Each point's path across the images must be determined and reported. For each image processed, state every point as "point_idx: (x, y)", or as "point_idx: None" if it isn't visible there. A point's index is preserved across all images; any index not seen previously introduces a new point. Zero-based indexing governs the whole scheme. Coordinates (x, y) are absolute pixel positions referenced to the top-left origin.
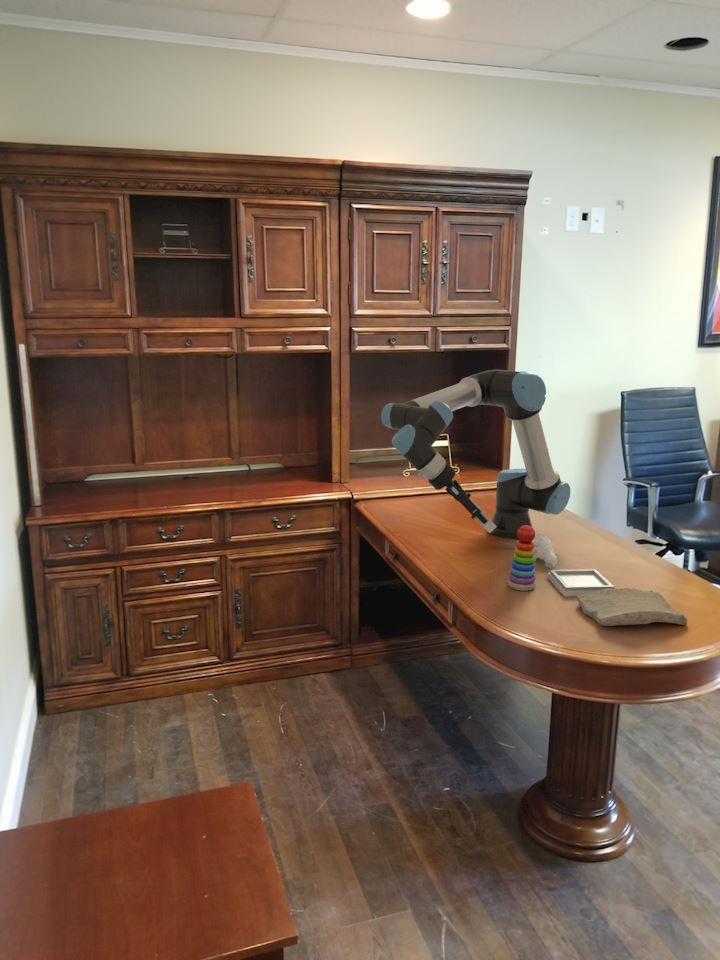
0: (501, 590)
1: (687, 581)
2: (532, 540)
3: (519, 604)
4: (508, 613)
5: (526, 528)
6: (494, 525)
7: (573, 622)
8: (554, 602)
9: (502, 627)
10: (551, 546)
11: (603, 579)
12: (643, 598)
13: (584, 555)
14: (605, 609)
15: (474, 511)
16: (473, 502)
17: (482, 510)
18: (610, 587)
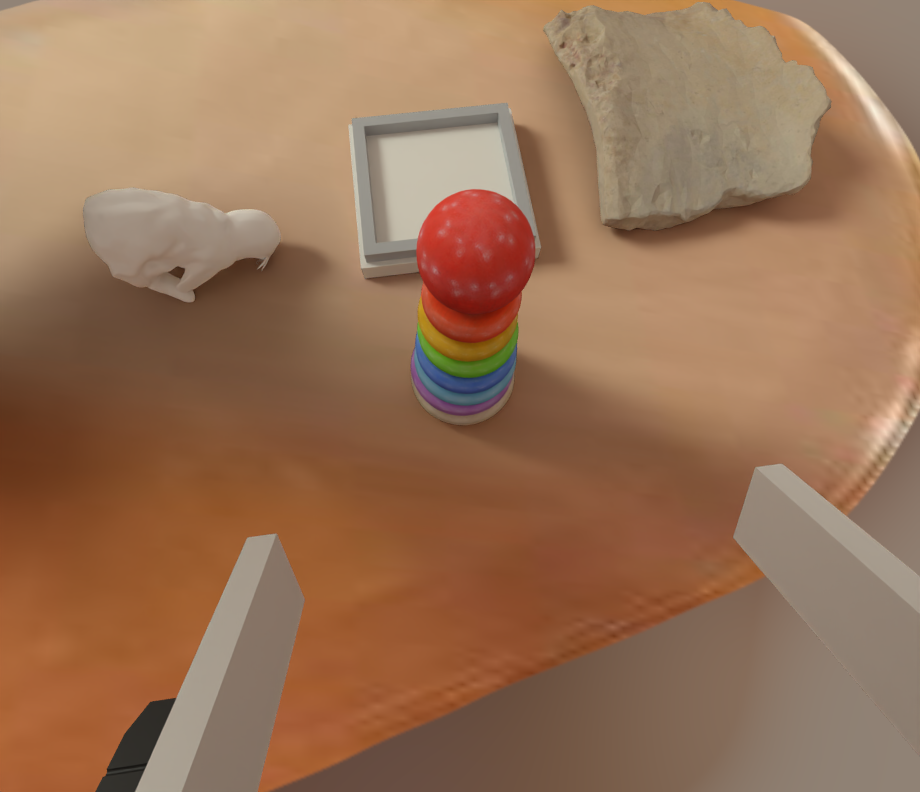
0: (507, 456)
1: None
2: (116, 258)
3: (631, 408)
4: (720, 457)
5: (514, 228)
6: (800, 488)
7: (739, 270)
8: (592, 295)
9: (846, 492)
10: (186, 199)
11: (447, 116)
12: (648, 48)
13: (149, 130)
14: (728, 161)
15: (268, 687)
16: (197, 784)
17: (261, 577)
18: (509, 114)
